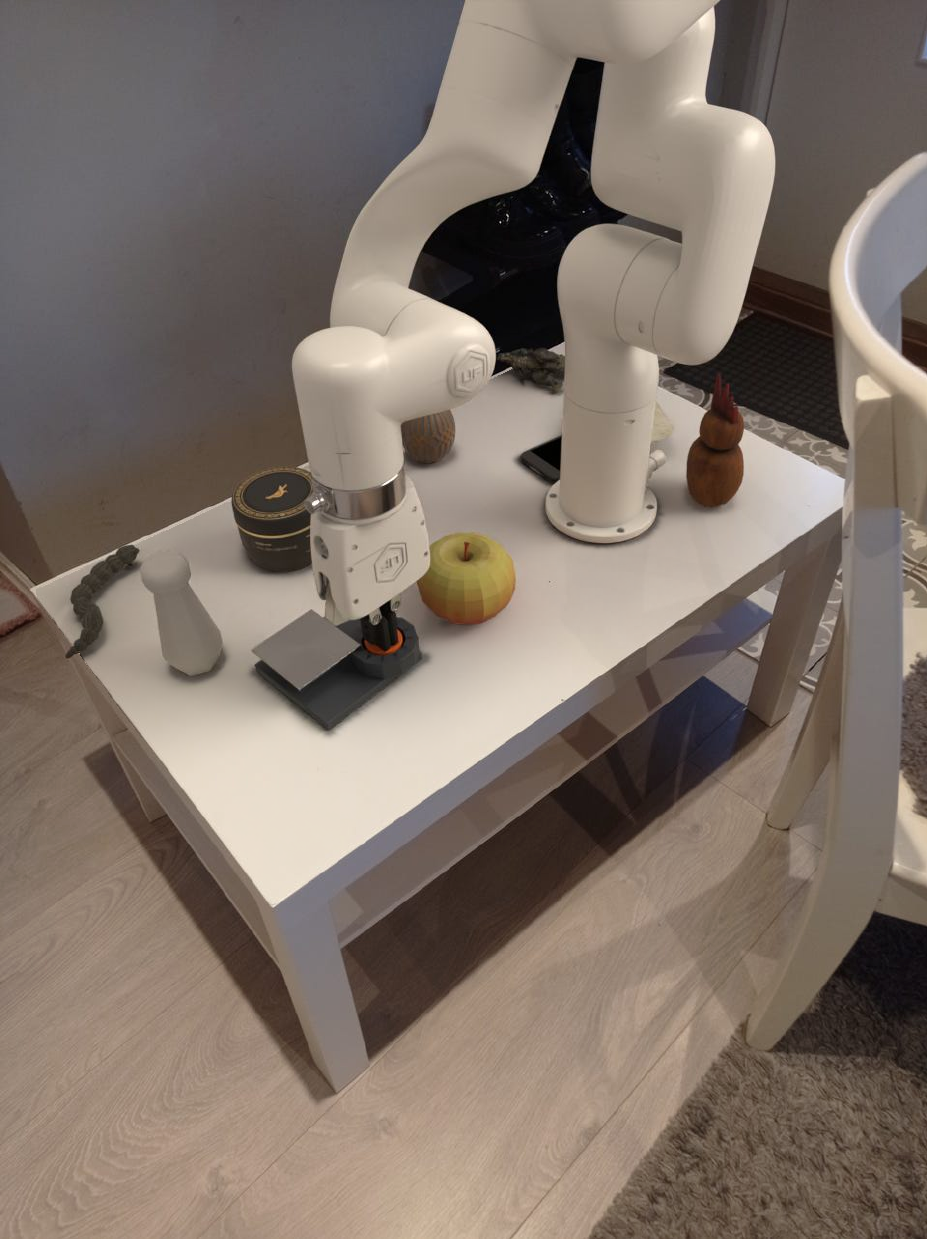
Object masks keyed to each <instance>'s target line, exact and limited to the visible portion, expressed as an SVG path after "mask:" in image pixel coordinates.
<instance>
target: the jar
mask: <svg viewBox="0 0 927 1239" xmlns="http://www.w3.org/2000/svg"><path fill="white" fill-rule="evenodd" d="M311 479H312V478H311V472H310V470H307V469H305V468H301V467H297V466H287V465H286V466H285V465H283V466H275V467H268V468H265V469H264V468H263V469H261V470H259V471H256V472H254V473H252V474H250V475H248V476H247V477H245V478H244V479H242V480H241V481H240V482H239V483H238V484H237V485H236V487H235V488H234V489H233V492H232V495H231V498H230V499H231V500H230V501H231V509H232V514H233V519H234V522H235V524H236V527H237V530H238V534H239V537H240V541H241V543H242V544H241V545H242V547H243V549H244V550H245V553H246V554H247V555H248V556H249V558H250V559H251V561H252V562H253V563H254V564H256V565H257V566H259V567H261V568H264V569H266V570H269V571H273V572H292V571H297V570H300V569H303V568H306V567H308V566H310V565H312V558H311V544H310V521H311V513H309V512H308V511H307V509H306V508H305V505H304V500H305V499H307V498H309V497H310V495H311V494H312V492H313V489H312V484H311Z"/></svg>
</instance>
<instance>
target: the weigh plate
mask: <svg viewBox="0 0 927 1239" xmlns="http://www.w3.org/2000/svg"><path fill="white" fill-rule="evenodd" d="M323 617H324V616H322V615H320V614H319V613H317V612H316V611H315V610H314V609H312V608H311V609H309V610H308V611H306V612H305V613H304V614H302V615H300V616H299V617H297V618H296V619H295V620H293V621H291V622H290V623H288V624H287V625H285V626H284V627H282V628H281V629H280V630H278V631H277V632H275V633H273V634H272V635H271V636H269V637H267V638H265V640H263V641H262V642H260V643H259V644H257V645H255V646H254V647H253V648H251V649H250V650H251V652H252V654H254V655H255V656H256V657H258V658H259V659H260V660H263V661H264V662H265V663H266V664H268V665H269V666H270V667H271V668H273V669H274V670H275V671H276V672H278V673H279V674H280V675H281V676H282V677H284V678H285V679H286V680H287V681H289V682H290V683H291V684H292V685H294V686H295V687H296V688H297V689H299V690H300V691H301V690H303V689H304V688H305V687H307V686H308V685H310V684H311V683H312V682H314V681H315V680H316V679H318V678H319V677H321V676H322V675H323V674H325V673H326V672H328V671H329V670H330V669H332V668H333V667H334V666H336V665H337V664H339V663H340V662H341V661H343V660H344V659H345V658H347V657H348V656H350V655H351V654H352V653H354V652H355V651H357V650H358V649H359V648H361V645H360V644H359V643H357V642H356V641H355V640H353V639H352V638H351V637H349V636H348V635H346V634H345V633H344V632H342V631H341V630H340V629H338V628H337V627H335V626H334V625H333V624H331V623H330V622H329V621H327V620H326V619H324V618H323Z"/></svg>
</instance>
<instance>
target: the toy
mask: <svg viewBox="0 0 927 1239" xmlns="http://www.w3.org/2000/svg"><path fill="white" fill-rule="evenodd" d="M140 551H141V550H140V548H138V547H136V546H135V545H134V544H128V545H127V544H126V545H122V546H120V547H119V548H118V549H117V550H116V552H115V553H113V554H110V555H108V556H107V557H105V560H102V561H99V562H97V563H96V564H94V565H93V566H92V567H91V569H90V571H89V573H88V574H86V575H84V576H83V577H82V578H81V579H80V584H78V585H76V586H75V587H74V588H73V589H72V591H71V594H70V598H69V600H70V603H71V605H72V610H73V613H74V615H76V616H78V618H80V619H81V626H82V629H81V631H80V635H79V638H77V639H75V641H74V642H73V645H72V646H70V647H69V650H67V651H66V653H65V655H64V656H65V659H71V658H72V657H73V656H74V655H77V654H78V653H81V652H84V651H86V650H87V648H88V646H91V645H93V644H94V643H95V642H96V641H97V640H98V638H99V635H100V632H101V631H102V629H103V628H102V627H103V625H104V617H103V614H102V611H101V608H100V606H98V605H97V604H96V603H94V602H93V601H91V599H92V596H93V594H95V593H97V592H98V591H99V590H100V589H101V587H102V586H104V585H106V584H107V583H109V581H110V580H111V579H112V575H113V574H118V573H120V572H122V571H123V570H124V568H125V566H128V567H129V568H130V567H133V563H134V562H135V560H136V559H137V557H138V554H139V553H140Z"/></svg>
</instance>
